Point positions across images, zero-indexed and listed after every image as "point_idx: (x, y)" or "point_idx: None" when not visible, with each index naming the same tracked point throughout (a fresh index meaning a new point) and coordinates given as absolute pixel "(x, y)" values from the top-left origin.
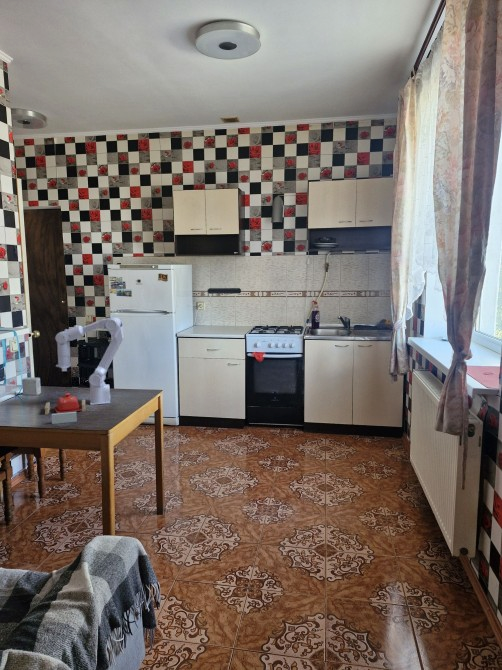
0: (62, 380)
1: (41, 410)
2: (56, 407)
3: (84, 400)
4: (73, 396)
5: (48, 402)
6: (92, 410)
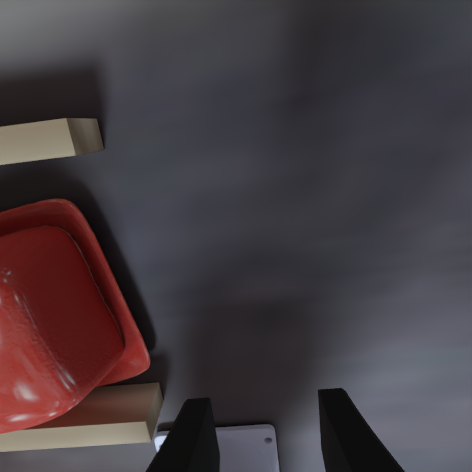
0: (157, 453)
1: (38, 78)
2: (54, 218)
3: (112, 440)
4: (2, 423)
5: (66, 143)
6: None
